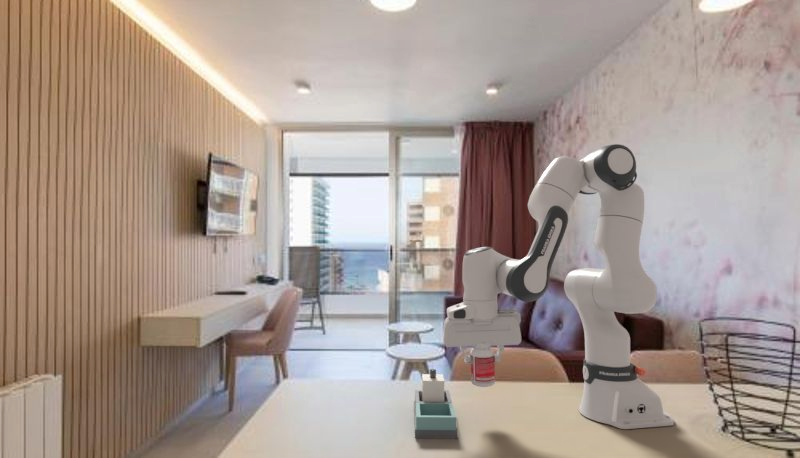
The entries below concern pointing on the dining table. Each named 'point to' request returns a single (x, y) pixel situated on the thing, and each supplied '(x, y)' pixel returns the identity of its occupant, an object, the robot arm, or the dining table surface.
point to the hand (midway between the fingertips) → (482, 362)
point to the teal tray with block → (434, 409)
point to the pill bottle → (482, 365)
